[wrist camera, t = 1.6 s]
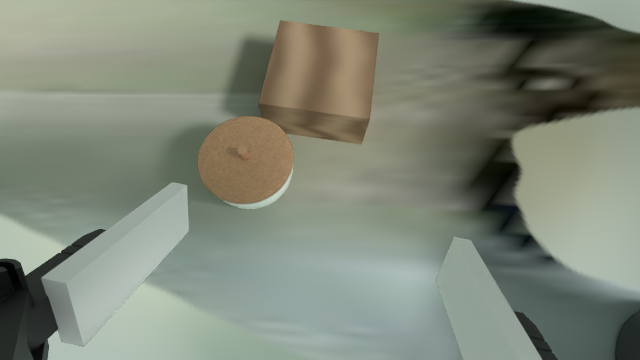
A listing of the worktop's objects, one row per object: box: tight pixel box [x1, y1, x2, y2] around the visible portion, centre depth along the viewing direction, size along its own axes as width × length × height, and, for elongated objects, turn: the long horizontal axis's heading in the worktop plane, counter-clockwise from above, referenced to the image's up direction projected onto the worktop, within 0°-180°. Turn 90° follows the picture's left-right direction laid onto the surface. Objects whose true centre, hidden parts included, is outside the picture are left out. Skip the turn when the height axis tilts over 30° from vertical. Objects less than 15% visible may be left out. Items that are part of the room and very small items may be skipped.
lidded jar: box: [197, 116, 293, 209], centre depth 36 cm, size 11×11×9 cm
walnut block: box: [258, 20, 379, 144], centre depth 42 cm, size 14×14×7 cm
